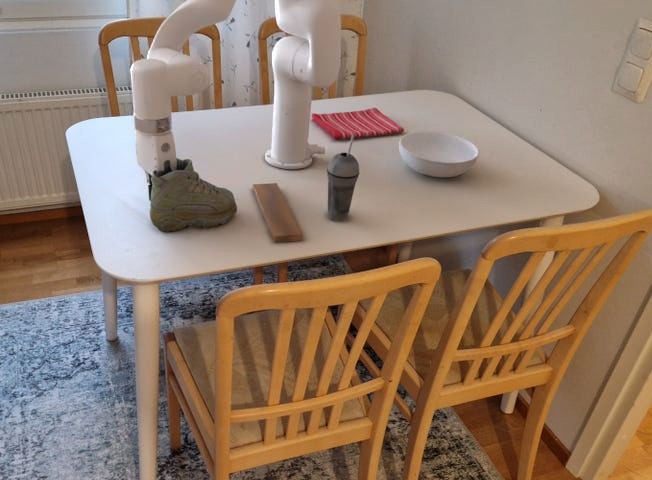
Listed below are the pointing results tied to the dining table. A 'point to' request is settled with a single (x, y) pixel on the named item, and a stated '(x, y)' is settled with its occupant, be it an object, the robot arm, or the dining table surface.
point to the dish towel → (356, 124)
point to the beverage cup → (341, 184)
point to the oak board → (276, 213)
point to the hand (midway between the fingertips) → (157, 200)
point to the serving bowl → (437, 153)
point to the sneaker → (187, 199)
